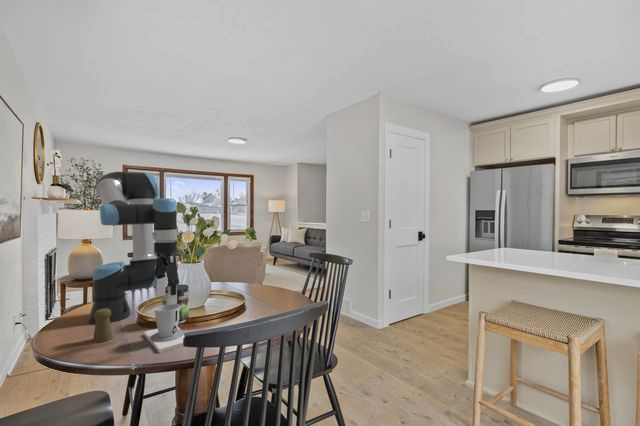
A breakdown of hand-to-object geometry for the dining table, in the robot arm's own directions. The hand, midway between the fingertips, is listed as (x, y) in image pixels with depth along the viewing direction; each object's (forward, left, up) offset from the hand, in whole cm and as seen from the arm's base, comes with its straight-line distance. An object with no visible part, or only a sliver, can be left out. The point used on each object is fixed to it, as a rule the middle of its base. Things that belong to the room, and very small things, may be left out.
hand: (166, 299), depth 116 cm
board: (0, 0, -14) cm, 14 cm away
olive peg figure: (-16, -18, -15) cm, 28 cm away
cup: (0, 0, -13) cm, 13 cm away
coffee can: (-18, +8, -15) cm, 24 cm away
